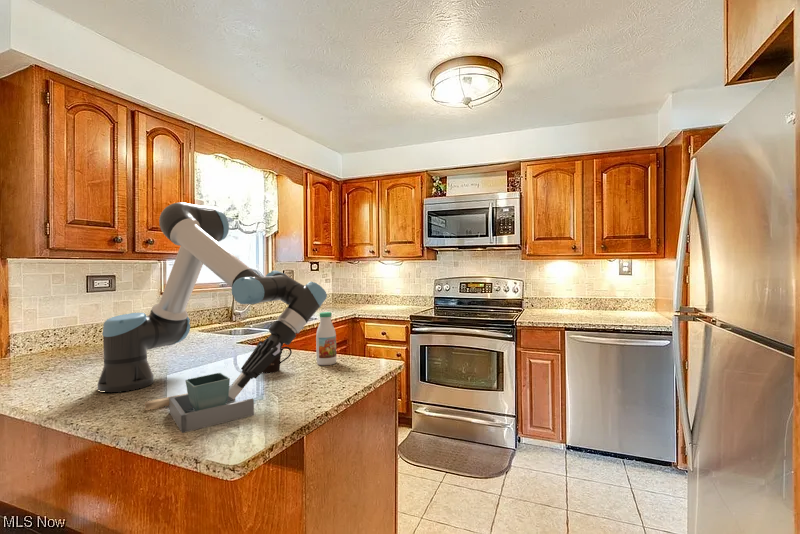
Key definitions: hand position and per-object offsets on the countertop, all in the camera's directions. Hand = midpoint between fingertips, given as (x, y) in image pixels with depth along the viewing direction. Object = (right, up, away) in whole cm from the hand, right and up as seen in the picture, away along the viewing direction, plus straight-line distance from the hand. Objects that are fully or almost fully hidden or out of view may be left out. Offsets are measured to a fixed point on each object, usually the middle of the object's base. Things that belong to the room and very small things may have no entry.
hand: (229, 396), depth 106 cm
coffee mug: (-1, -4, +38) cm, 39 cm away
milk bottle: (+17, -3, +49) cm, 52 cm away
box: (-3, -4, -3) cm, 6 cm away
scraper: (-18, -4, +6) cm, 19 cm away
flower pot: (-4, -4, -2) cm, 6 cm away
